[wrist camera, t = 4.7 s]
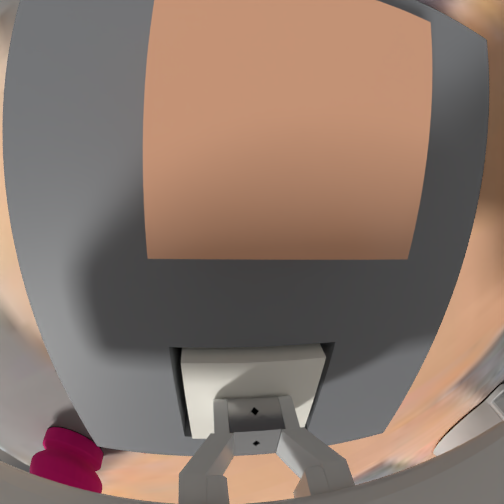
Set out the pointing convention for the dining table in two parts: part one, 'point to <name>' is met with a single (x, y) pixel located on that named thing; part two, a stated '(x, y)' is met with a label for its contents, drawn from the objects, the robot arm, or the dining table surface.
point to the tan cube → (284, 129)
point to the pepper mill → (69, 460)
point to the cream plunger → (248, 378)
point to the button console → (209, 270)
